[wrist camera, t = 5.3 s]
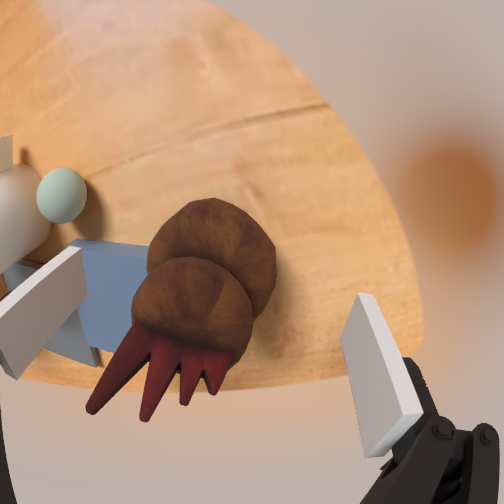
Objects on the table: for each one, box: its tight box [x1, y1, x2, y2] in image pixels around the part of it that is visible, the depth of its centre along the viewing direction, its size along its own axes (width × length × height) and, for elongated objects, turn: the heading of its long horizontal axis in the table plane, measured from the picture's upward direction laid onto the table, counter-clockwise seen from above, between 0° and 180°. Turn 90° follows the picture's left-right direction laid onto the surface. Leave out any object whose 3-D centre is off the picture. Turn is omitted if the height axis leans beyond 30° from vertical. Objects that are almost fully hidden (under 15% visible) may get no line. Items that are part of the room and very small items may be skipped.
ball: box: [36, 168, 87, 224], centre depth 17 cm, size 4×4×4 cm
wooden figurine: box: [86, 198, 277, 422], centre depth 13 cm, size 7×6×15 cm
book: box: [65, 238, 149, 353], centre depth 22 cm, size 8×10×2 cm
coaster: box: [3, 259, 100, 368], centre depth 24 cm, size 11×11×1 cm
